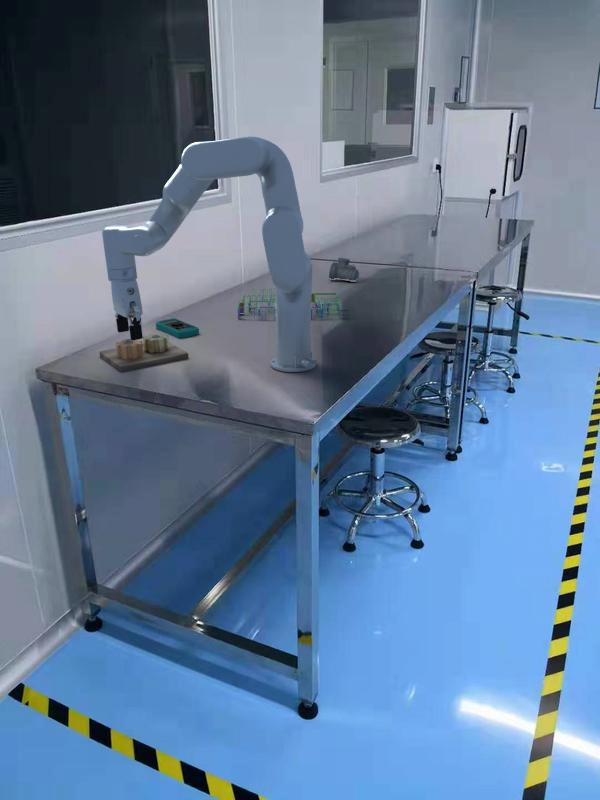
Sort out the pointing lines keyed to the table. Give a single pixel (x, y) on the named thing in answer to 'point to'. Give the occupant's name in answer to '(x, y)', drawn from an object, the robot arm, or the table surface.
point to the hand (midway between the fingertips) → (130, 335)
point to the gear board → (143, 357)
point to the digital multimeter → (177, 328)
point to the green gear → (156, 343)
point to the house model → (241, 306)
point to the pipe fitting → (343, 270)
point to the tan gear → (129, 349)
